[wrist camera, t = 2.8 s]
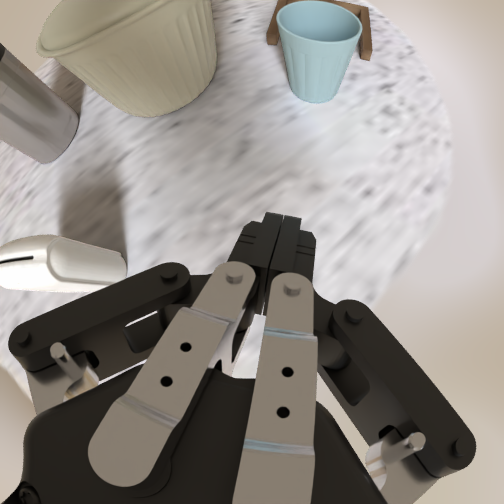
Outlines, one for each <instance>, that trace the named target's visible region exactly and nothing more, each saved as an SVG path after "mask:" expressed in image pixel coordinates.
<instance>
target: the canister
mask: <svg viewBox="0 0 504 504" xmlns="http://www.w3.org/2000/svg"><path fill="white" fill-rule="evenodd" d="M36 51H37V53H38V54H39V55H40V56H41V57H46V58H54V59H56V60H57V61H58V62H59V63H60V64H62V65H63V66H64V67H65V68H67V69H68V70H69V71H70V72H72V73H73V74H74V75H76V76H77V77H78V78H79V79H81V80H82V81H83V82H84V83H86V84H87V85H88V86H89V87H91V88H92V89H93V90H95V91H96V92H97V93H98V94H100V95H101V96H102V97H104V98H105V99H106V100H108V101H109V102H110V103H112V104H113V105H114V106H116V107H117V108H119V109H120V110H122V111H124V112H125V113H127V114H131V115H134V116H137V117H155V116H162V115H164V114H169V113H171V112H173V111H177V110H178V109H179V108H182V107H184V106H185V105H186V104H188V103H191V102H192V101H193V100H194V99H195V98H197V97H198V96H199V94H200V93H202V92H203V91H204V89H205V88H206V87H207V86H208V85H209V82H210V81H211V80H212V78H213V74H214V73H215V70H216V63H217V52H216V41H215V32H214V23H213V16H212V9H211V2H210V0H62V1H61V2H60V3H59V4H58V5H57V6H56V8H55V9H54V10H53V11H52V13H51V14H50V16H49V17H48V18H47V20H46V22H45V23H44V26H43V28H42V31H41V33H40V36H39V37H38V40H37V43H36Z"/></svg>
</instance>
